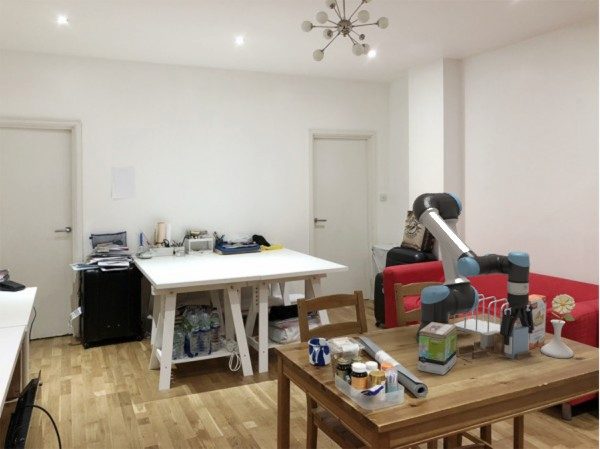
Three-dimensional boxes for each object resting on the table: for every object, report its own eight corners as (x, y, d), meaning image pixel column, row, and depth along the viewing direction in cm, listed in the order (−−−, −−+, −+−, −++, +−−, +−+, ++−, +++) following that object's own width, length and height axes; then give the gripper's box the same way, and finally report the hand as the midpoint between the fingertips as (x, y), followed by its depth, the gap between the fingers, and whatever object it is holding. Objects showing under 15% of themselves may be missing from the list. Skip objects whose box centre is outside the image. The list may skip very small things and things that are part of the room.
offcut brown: (493, 351, 198) (494, 332, 197) (506, 348, 201) (506, 330, 200) (501, 354, 194) (501, 335, 194) (513, 351, 198) (514, 332, 197)
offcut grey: (480, 347, 202) (480, 333, 202) (496, 344, 206) (496, 330, 206) (487, 350, 199) (487, 335, 199) (503, 346, 203) (503, 332, 203)
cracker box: (529, 352, 199) (531, 300, 197) (515, 349, 203) (516, 298, 202) (545, 345, 208) (547, 295, 206) (531, 342, 212) (532, 293, 211)
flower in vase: (533, 353, 198) (535, 291, 196) (555, 350, 202) (557, 288, 200) (561, 364, 186) (563, 297, 184) (584, 360, 190) (586, 295, 188)
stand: (455, 356, 195) (455, 347, 195) (474, 352, 200) (474, 343, 200) (471, 362, 188) (471, 353, 188) (490, 358, 193) (490, 349, 193)
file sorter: (450, 328, 234) (451, 295, 233) (471, 322, 245) (472, 290, 244) (501, 341, 215) (502, 305, 213) (521, 333, 226) (522, 299, 224)
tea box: (445, 376, 175) (445, 334, 174) (417, 370, 181) (417, 330, 180) (456, 363, 188) (457, 324, 187) (430, 358, 194) (430, 320, 192)
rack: (473, 349, 204) (473, 342, 204) (494, 344, 209) (494, 337, 209) (514, 364, 186) (514, 356, 186) (536, 359, 191) (536, 351, 191)
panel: (505, 356, 192) (506, 328, 191) (520, 353, 196) (520, 325, 195) (513, 359, 189) (513, 330, 188) (527, 355, 192) (528, 327, 192)
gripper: (506, 297, 182) (505, 358, 184) (545, 291, 192) (544, 349, 194) (489, 294, 189) (488, 352, 191) (528, 288, 199) (527, 344, 200)
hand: (516, 351), depth 192 cm, fingers open, 9 cm apart
